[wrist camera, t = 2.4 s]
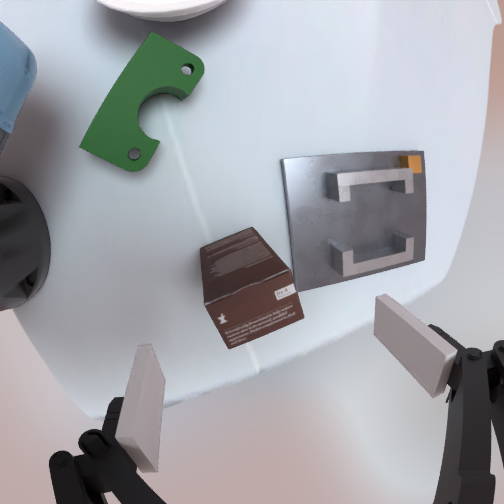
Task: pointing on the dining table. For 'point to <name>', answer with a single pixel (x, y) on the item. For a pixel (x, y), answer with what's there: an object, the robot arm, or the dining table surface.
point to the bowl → (163, 8)
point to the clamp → (140, 101)
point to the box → (247, 288)
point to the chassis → (354, 214)
